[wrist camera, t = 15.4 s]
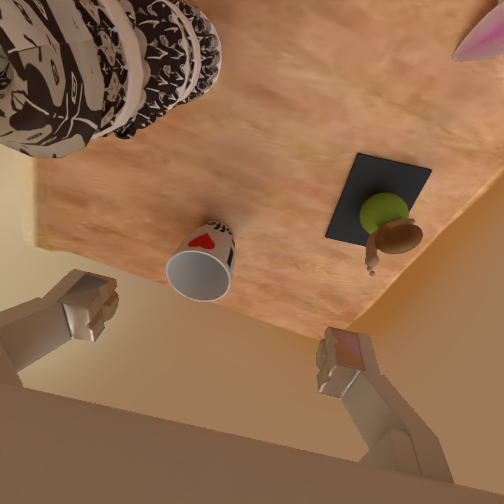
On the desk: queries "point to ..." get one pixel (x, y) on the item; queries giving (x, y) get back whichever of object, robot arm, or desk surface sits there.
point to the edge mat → (373, 193)
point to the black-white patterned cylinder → (98, 69)
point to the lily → (484, 38)
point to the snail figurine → (387, 227)
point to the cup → (203, 263)
